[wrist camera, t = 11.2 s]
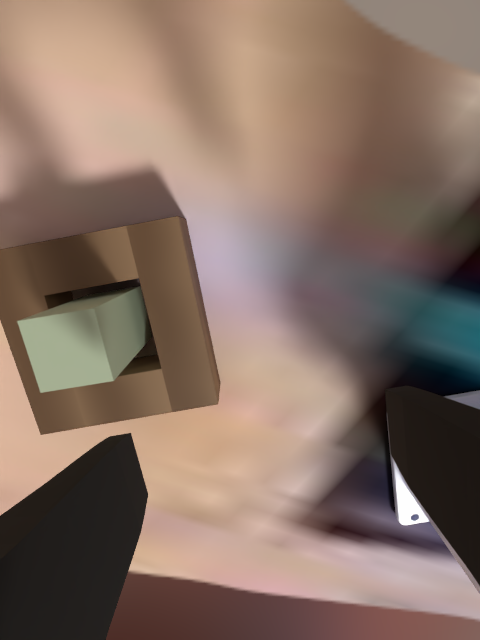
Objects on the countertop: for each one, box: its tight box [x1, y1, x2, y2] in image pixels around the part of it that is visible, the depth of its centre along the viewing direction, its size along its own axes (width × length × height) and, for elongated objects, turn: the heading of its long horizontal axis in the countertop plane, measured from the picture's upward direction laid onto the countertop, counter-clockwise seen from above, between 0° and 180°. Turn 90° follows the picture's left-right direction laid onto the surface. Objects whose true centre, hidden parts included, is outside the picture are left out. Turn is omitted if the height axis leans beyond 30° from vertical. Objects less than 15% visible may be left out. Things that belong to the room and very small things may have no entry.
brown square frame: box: [0, 216, 220, 435], centre depth 17 cm, size 9×9×2 cm
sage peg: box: [17, 286, 152, 393], centre depth 15 cm, size 3×3×6 cm
